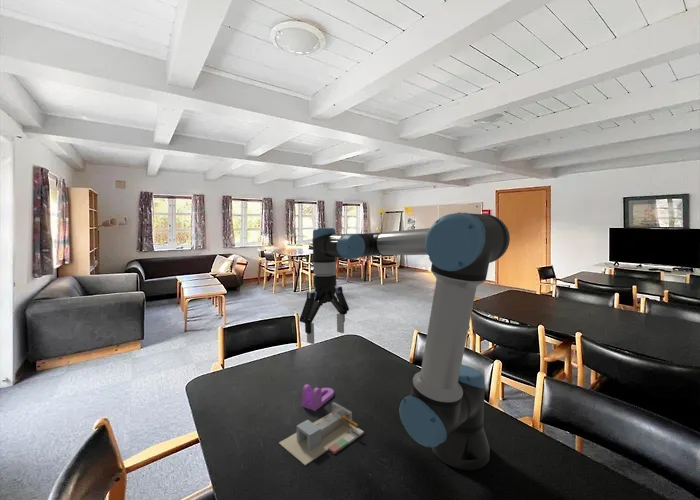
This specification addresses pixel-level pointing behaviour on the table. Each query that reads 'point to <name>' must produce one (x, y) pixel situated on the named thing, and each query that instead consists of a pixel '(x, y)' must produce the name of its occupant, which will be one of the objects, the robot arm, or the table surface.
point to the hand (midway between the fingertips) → (326, 337)
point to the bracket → (315, 397)
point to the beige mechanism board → (318, 440)
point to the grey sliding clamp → (336, 420)
